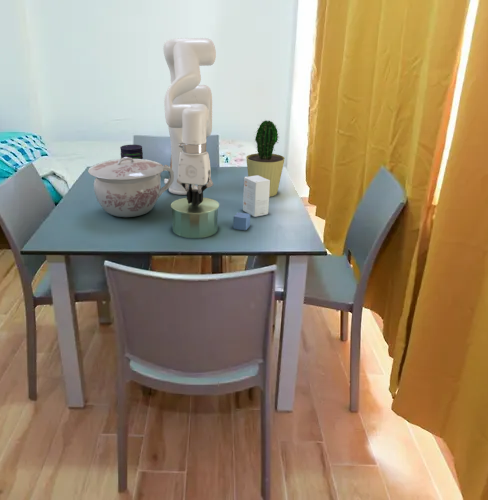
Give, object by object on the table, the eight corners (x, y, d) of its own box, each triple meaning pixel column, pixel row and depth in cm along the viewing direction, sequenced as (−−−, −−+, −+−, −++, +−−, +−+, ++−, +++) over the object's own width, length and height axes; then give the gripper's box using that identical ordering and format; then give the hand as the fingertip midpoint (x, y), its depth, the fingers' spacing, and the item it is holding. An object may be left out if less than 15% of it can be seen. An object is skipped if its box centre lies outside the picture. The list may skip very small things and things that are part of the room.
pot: (165, 234, 164) (164, 210, 160) (184, 219, 176) (183, 196, 173) (207, 241, 158) (207, 216, 154) (223, 225, 171) (224, 202, 167)
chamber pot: (77, 219, 177) (71, 163, 169) (115, 196, 201) (111, 146, 192) (147, 229, 168) (144, 170, 159) (178, 204, 191) (176, 151, 182)
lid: (162, 212, 160) (161, 194, 158) (183, 197, 174) (182, 181, 171) (208, 219, 154) (208, 200, 152) (226, 203, 168) (226, 186, 165)
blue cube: (233, 228, 167) (233, 216, 166) (237, 224, 171) (237, 212, 169) (245, 230, 166) (246, 218, 164) (249, 226, 170) (250, 213, 168)
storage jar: (127, 184, 216) (125, 150, 210) (119, 178, 224) (116, 146, 218) (147, 180, 221) (146, 147, 214) (138, 175, 228) (137, 143, 222)
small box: (268, 214, 180) (270, 180, 174) (254, 217, 177) (255, 182, 172) (256, 207, 186) (258, 174, 181) (242, 210, 184) (243, 176, 178)
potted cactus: (237, 193, 202) (239, 119, 190) (257, 184, 213) (261, 114, 200) (269, 201, 193) (274, 124, 181) (289, 191, 204) (294, 118, 191)
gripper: (166, 148, 155) (168, 203, 163) (213, 152, 149) (213, 209, 157) (176, 143, 162) (177, 196, 169) (222, 147, 156) (221, 202, 163)
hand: (194, 202), depth 163 cm, fingers closed
